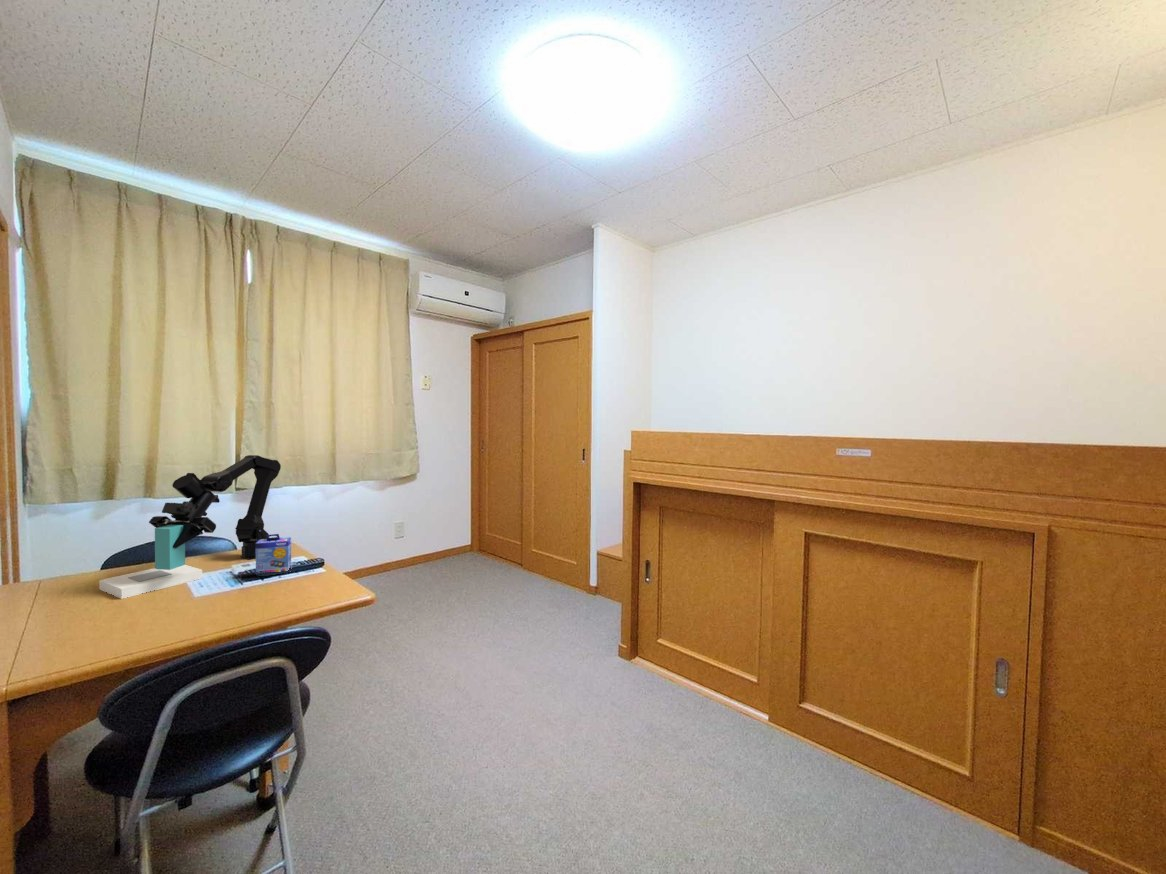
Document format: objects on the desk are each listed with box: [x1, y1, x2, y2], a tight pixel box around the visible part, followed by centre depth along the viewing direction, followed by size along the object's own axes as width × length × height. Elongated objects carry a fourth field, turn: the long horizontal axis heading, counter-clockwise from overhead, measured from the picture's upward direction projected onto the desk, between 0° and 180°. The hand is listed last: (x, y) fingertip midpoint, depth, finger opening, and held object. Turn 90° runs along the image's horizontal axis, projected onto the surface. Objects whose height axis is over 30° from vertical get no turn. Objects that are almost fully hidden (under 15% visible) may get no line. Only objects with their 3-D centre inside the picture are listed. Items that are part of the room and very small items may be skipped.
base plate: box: [98, 564, 203, 600], centre depth 146 cm, size 20×16×3 cm
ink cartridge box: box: [255, 533, 292, 573], centre depth 156 cm, size 10×6×14 cm, turn 115°
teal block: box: [154, 525, 186, 570], centre depth 142 cm, size 5×5×13 cm
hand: (165, 547), depth 141 cm, fingers closed on teal block, 5 cm apart
